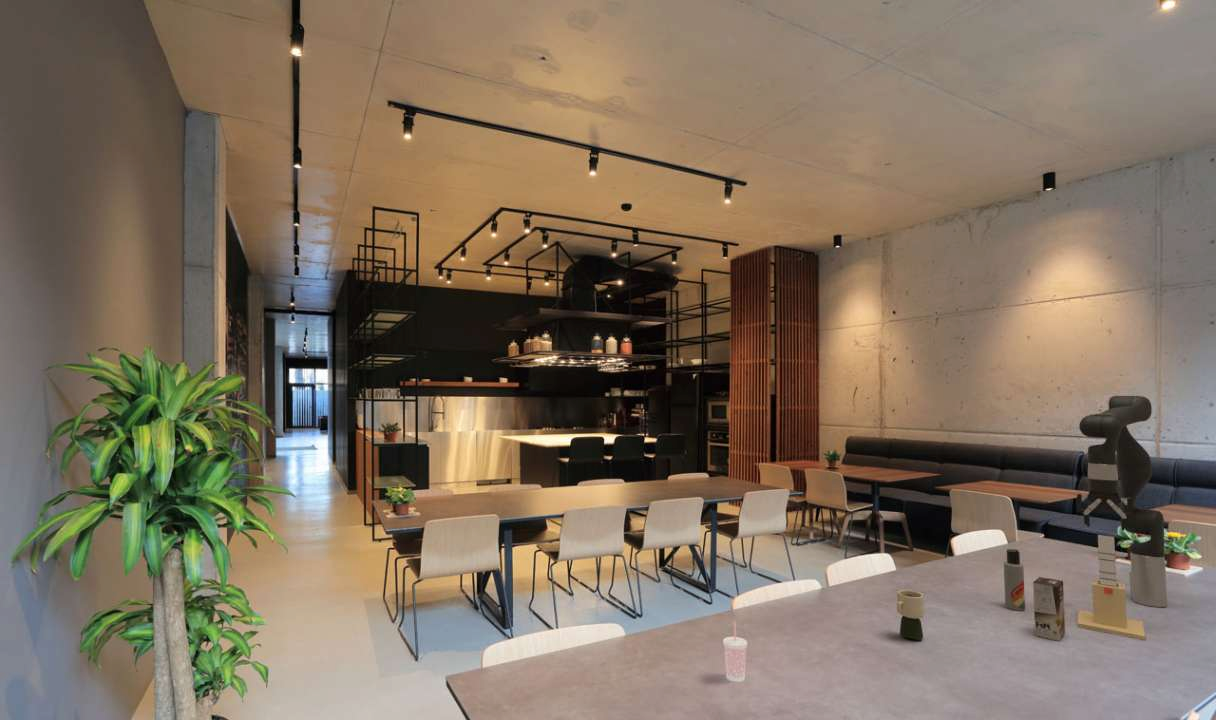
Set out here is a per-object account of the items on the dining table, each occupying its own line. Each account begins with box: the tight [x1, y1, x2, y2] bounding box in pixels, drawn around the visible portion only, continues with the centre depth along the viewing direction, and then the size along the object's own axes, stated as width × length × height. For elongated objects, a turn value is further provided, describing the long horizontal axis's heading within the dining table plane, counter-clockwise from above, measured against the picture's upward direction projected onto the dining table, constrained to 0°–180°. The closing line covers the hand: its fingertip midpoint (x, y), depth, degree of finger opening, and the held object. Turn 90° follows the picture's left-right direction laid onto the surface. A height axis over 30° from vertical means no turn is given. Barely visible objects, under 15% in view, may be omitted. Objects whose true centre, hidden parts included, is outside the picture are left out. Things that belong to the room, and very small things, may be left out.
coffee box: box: [1032, 576, 1066, 642], centre depth 183 cm, size 9×6×16 cm
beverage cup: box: [722, 620, 748, 683], centre depth 152 cm, size 6×6×14 cm
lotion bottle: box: [1003, 548, 1026, 612], centre depth 207 cm, size 6×6×20 cm
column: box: [1097, 534, 1118, 587], centre depth 191 cm, size 4×4×20 cm
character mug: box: [896, 589, 925, 640], centre depth 179 cm, size 11×7×13 cm, turn 114°
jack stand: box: [1077, 578, 1146, 641], centre depth 190 cm, size 16×16×13 cm
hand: (1105, 528), depth 192 cm, fingers open, 8 cm apart
